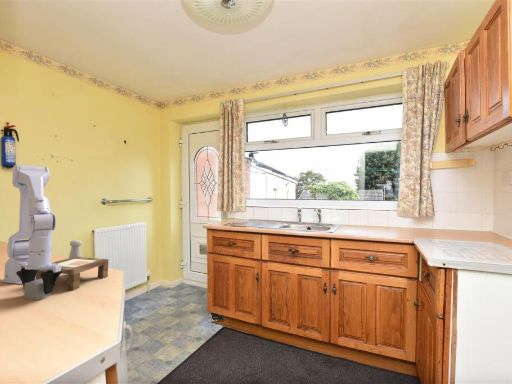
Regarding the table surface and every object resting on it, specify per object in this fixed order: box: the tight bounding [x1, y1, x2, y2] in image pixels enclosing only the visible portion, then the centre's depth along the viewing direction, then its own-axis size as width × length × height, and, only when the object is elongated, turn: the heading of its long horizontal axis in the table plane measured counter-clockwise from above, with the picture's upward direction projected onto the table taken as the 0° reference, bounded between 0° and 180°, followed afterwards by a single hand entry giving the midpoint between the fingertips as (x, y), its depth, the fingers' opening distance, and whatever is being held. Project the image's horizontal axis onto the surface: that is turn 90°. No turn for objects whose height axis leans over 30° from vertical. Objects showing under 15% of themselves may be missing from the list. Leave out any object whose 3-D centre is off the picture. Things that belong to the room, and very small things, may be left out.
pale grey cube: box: [23, 278, 53, 301], centre depth 82 cm, size 5×5×5 cm
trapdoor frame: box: [36, 256, 109, 291], centre depth 97 cm, size 16×16×7 cm
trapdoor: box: [58, 259, 96, 268], centre depth 97 cm, size 10×10×1 cm
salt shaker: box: [68, 239, 83, 258], centre depth 111 cm, size 6×6×13 cm
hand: (38, 292), depth 82 cm, fingers open, 7 cm apart
